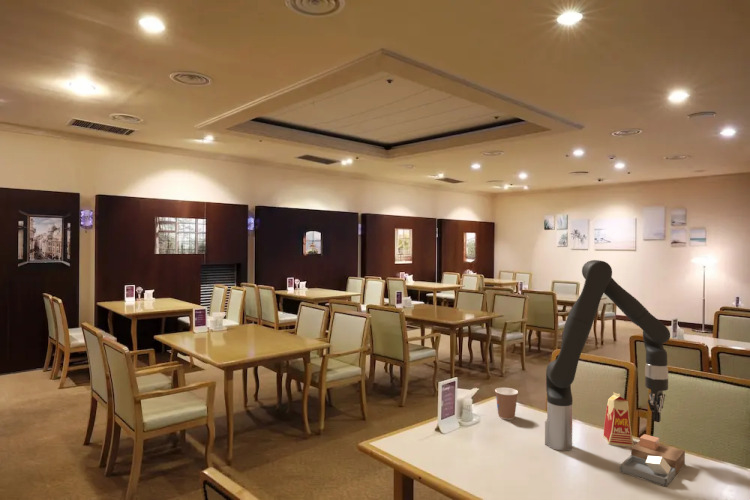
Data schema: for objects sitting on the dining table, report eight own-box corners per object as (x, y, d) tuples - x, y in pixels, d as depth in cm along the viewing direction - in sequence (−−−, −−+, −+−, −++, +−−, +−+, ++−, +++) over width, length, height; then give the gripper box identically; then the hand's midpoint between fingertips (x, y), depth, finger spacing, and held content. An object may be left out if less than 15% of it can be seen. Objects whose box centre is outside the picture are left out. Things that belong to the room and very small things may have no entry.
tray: (620, 471, 162) (620, 464, 162) (631, 461, 170) (631, 455, 170) (666, 486, 152) (666, 479, 152) (675, 475, 160) (675, 468, 160)
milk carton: (634, 446, 183) (634, 396, 182) (608, 444, 184) (609, 394, 184) (626, 437, 192) (626, 389, 191) (602, 435, 193) (602, 387, 193)
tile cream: (656, 465, 162) (654, 473, 160) (648, 455, 161) (645, 462, 160) (670, 467, 157) (668, 474, 156) (662, 456, 157) (659, 464, 155)
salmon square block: (639, 445, 172) (639, 437, 172) (644, 441, 175) (644, 434, 175) (655, 450, 168) (655, 441, 168) (659, 446, 172) (659, 438, 171)
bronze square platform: (631, 461, 170) (631, 448, 170) (641, 451, 178) (642, 438, 178) (675, 475, 160) (675, 461, 160) (684, 464, 168) (684, 450, 168)
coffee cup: (499, 411, 221) (499, 386, 221) (521, 415, 216) (521, 390, 215) (491, 417, 213) (491, 391, 213) (513, 422, 207) (513, 395, 207)
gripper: (651, 370, 184) (651, 414, 184) (639, 377, 175) (640, 423, 175) (672, 374, 179) (673, 419, 179) (662, 381, 170) (662, 428, 170)
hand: (656, 421), depth 177 cm, fingers closed
